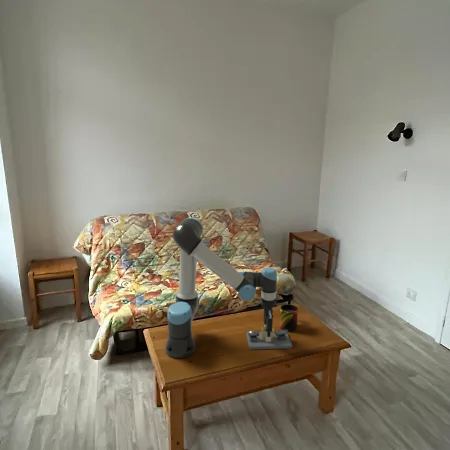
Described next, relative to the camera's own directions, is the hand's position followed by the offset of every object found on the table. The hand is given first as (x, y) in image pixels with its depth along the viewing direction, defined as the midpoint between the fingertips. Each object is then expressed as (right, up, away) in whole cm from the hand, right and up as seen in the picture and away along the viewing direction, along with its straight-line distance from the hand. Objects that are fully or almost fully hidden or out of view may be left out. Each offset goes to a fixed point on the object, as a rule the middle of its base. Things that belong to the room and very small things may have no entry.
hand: (267, 338), depth 181 cm
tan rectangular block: (0, 0, 0) cm, 0 cm away
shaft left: (-7, 0, 0) cm, 7 cm away
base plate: (+1, -2, +1) cm, 2 cm away
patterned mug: (+13, +2, +16) cm, 21 cm away
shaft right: (+7, 0, +1) cm, 8 cm away
